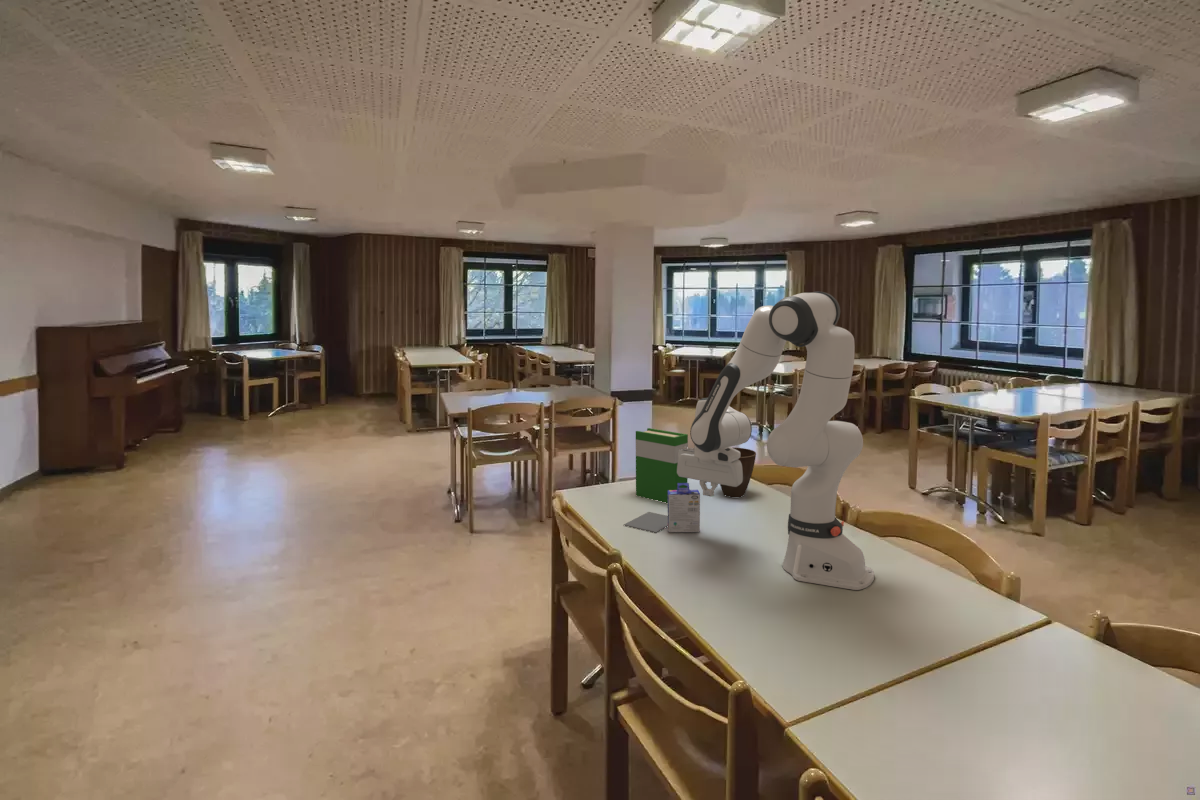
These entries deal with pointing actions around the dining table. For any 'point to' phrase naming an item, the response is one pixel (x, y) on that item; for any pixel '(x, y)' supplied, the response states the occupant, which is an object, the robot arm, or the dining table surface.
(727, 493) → the plant pot
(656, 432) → the hardback book
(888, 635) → the dining table surface
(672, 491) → the ink cartridge box
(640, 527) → the mat
